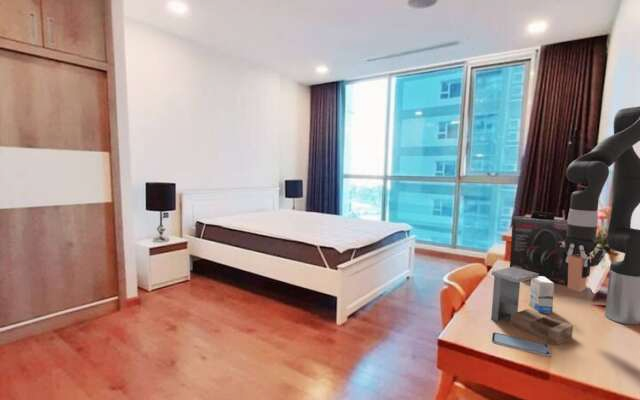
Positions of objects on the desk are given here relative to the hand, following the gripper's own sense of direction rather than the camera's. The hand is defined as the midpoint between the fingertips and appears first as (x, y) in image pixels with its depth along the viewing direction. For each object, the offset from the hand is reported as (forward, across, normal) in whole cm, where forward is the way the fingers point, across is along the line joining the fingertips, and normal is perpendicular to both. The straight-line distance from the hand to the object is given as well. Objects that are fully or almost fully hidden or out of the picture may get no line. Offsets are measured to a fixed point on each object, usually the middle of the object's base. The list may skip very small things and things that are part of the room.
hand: (577, 275), depth 108 cm
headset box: (+19, +38, -48) cm, 64 cm away
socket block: (+19, +5, +10) cm, 22 cm away
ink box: (+19, +15, -10) cm, 27 cm away
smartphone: (+20, +3, +24) cm, 31 cm away
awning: (+19, +14, +10) cm, 26 cm away
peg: (+4, 0, 0) cm, 4 cm away
